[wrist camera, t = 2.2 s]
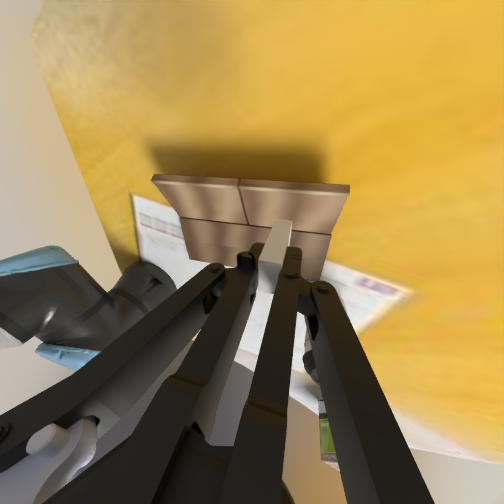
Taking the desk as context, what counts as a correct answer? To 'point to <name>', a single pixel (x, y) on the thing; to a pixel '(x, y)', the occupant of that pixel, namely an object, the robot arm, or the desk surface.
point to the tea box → (326, 439)
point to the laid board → (249, 243)
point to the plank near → (294, 203)
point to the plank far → (203, 197)
